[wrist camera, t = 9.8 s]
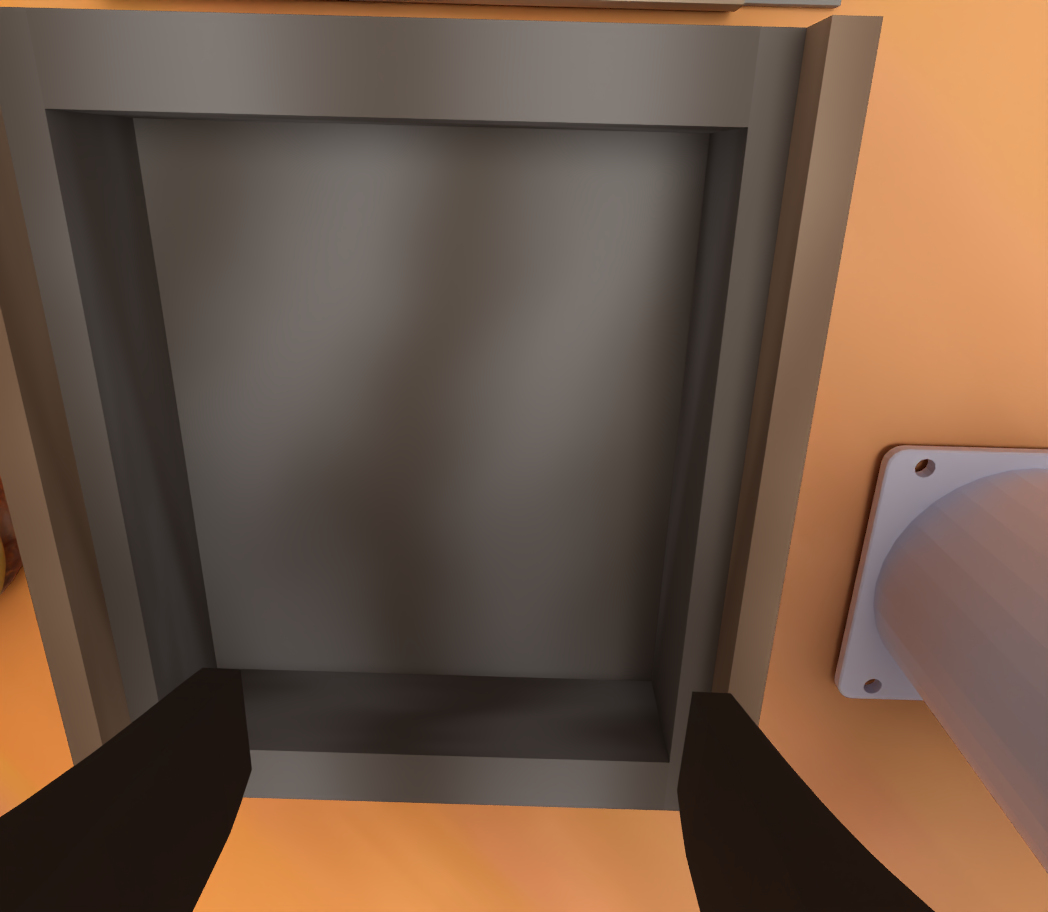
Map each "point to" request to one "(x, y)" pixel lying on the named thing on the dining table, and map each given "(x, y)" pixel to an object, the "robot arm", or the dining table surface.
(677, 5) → the cover plate
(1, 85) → the slide box
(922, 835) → the dining table surface
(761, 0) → the mat
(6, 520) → the sauce bottle
